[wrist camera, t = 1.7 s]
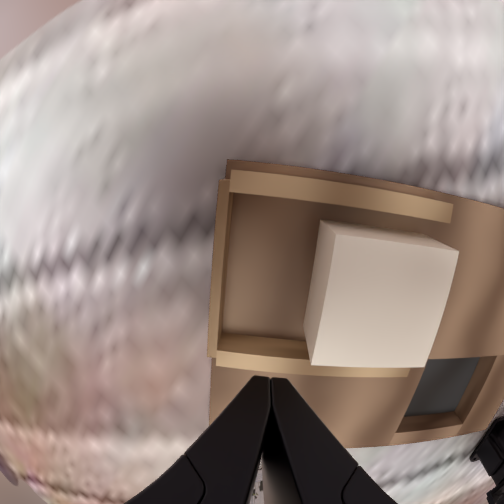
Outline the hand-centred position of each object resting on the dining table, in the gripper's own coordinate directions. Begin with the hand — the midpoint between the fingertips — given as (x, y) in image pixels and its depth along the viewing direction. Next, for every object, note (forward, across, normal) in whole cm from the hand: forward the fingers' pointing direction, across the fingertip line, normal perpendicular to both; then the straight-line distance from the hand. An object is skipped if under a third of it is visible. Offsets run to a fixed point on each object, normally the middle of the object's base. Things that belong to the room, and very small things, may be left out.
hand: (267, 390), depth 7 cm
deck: (+12, -10, +4) cm, 16 cm away
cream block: (+10, -5, 0) cm, 11 cm away
